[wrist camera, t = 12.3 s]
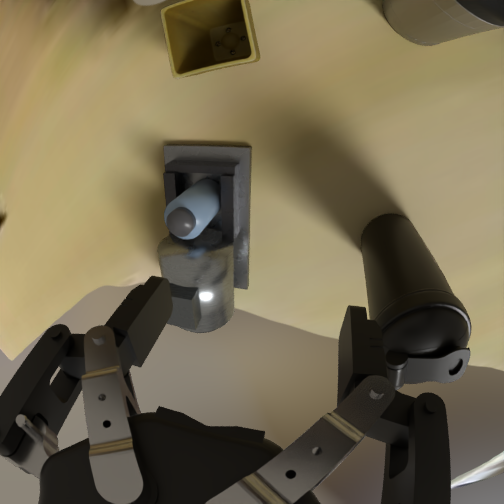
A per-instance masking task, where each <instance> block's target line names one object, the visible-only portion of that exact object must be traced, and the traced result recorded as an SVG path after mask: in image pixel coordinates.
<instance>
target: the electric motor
mask: <svg viewBox="0 0 504 504" xmlns="http://www.w3.org/2000/svg"><path fill="white" fill-rule="evenodd" d="M251 150H252V147H248V146H227V145H165V146H164V160H165V172H164V173H163V175H164V186H165V197H166V207H167V205H168V204H169V203H170V202H172V201H173V200H174V199H175V198H177V197H178V196H179V195H181V194H182V193H183V192H184V191H186V190H187V189H188V188H190V187H191V186H192V185H194V184H195V183H196V182H198V181H199V180H202V179H210V180H213V181H215V182H216V183H218V184H219V185H220V186H221V209H220V210H219V212H218V213H217V214H216V215H215V216H214V217H213V219H212V220H211V221H210V222H209V223H208V225H207V226H206V227H205V228H204V229H203V231H202V232H201V233H200V234H199V235H198V236H197V237H195V238H193V239H182V238H179V237H177V236H175V235H174V234H172V233H171V232H170V231H169V234H170V235H169V236H167V237H166V238H164V239H163V240H162V241H161V242H160V244H159V246H158V257H159V263H160V269H161V275H162V278H167V279H168V281H169V285H170V291H171V296H172V302H173V310H172V314H171V317H170V318H169V320H168V322H167V324H170V325H175V326H178V327H180V328H182V329H184V330H187V331H191V332H195V333H206V332H211V331H214V330H216V329H218V328H220V327H222V326H223V325H225V324H226V323H227V322H228V321H229V320H230V319H231V317H232V316H233V313H234V288H241V289H248V286H249V243H250V195H251Z"/></svg>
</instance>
